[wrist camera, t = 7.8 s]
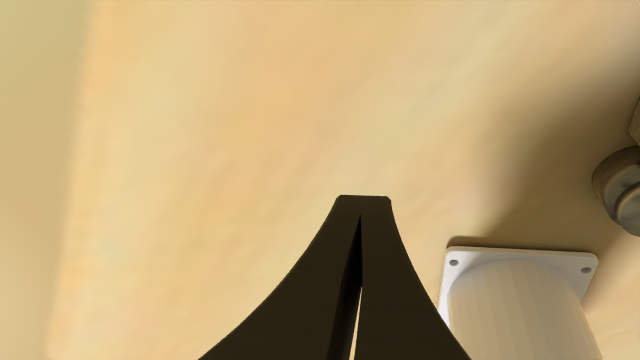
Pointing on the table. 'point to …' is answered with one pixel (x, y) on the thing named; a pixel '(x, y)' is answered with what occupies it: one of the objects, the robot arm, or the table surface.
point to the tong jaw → (630, 190)
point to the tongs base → (616, 177)
